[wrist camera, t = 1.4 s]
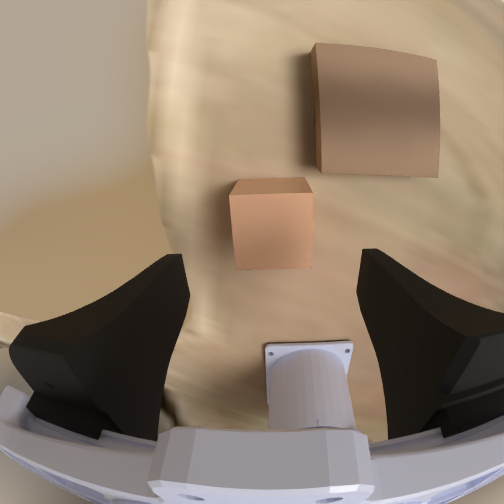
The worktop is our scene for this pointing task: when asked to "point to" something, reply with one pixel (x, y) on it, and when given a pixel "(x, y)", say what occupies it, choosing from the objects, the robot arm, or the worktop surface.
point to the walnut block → (375, 111)
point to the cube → (272, 223)
